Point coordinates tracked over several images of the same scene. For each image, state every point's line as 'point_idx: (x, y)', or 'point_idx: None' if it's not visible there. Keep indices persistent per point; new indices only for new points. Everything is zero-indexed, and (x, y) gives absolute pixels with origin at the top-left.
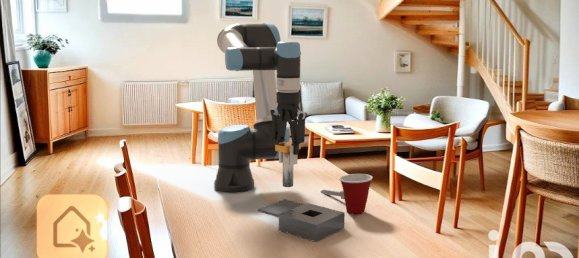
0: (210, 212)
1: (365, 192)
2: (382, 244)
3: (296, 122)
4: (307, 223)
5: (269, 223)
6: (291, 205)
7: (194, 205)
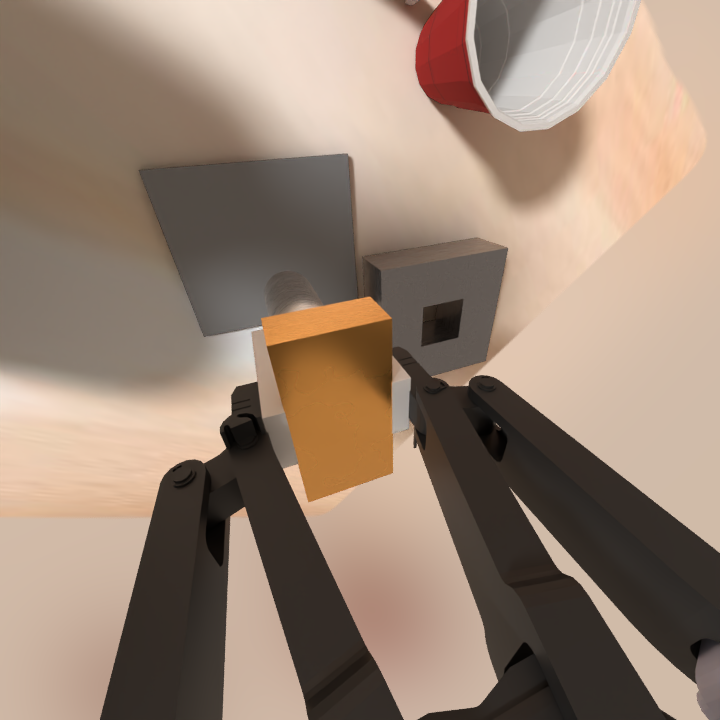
0: (137, 441)
1: (556, 47)
2: (570, 248)
3: (561, 586)
4: (462, 365)
5: None
6: (241, 218)
7: (26, 460)
